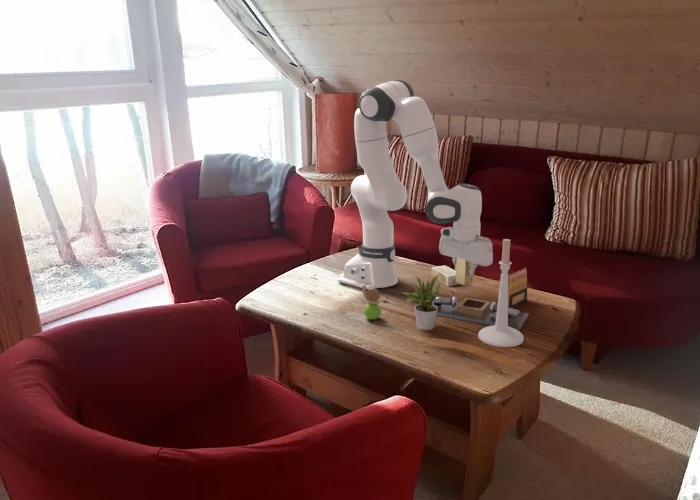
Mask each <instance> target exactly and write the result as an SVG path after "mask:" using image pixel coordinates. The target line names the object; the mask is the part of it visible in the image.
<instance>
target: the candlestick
mask: <svg viewBox="0 0 700 500" xmlns="http://www.w3.org/2000/svg"><path fill="white" fill-rule="evenodd" d="M510 250H511V239H509V238H503V239H502V253H501V260H500V261H499V262H498V264H499V265H500V268H499V269H500V270H501V274H500V281H499V287H498V289H499V290H498V298H497V299H498V300H497V305H498V306H497V315H496V322H495V325H487V326H485V327H483V328H481V329H480V330H479V332H478V335H477V337H478V339H479V341H481V342H483V343H484V344H486V345H488V346H493V347H498V348H513V347H517V346H519V345H521V344H523V343H524V341H525V340H524V339H525V338H524V335H523V334H522V332H520V330H516V329H514V328H512V327H508V279H509V270H510V269H511V265H512V263H513V262H512V261H510V253H511V252H510Z"/></svg>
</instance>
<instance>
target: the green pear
mask: <svg viewBox="0 0 700 500" xmlns="http://www.w3.org/2000/svg"><path fill="white" fill-rule="evenodd" d="M361 283H362V284H363V283H364V281H363V282H361ZM361 289H362V290H361V291H362V294H363V297H364V300H365V301H366V302H368V303H367V304H366V305H365V307H364V309H363V313H364V316H365V317H366V318H367V319H369V320H372V321H373V320H377V319H379V317H380V316H381V315H382V308H381V305H379V303H380V301H381V300H379V299H380V297H381V295H380V294H381V293H380V291H379V290H378V288H370V289H366V286H365V285H363V286H362V288H361Z"/></svg>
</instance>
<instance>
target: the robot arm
mask: <svg viewBox="0 0 700 500" xmlns="http://www.w3.org/2000/svg"><path fill="white" fill-rule="evenodd" d="M353 120H354V121H353V122H354V123H353V127H354V130H353V131H354V142H355V147H356V154H357V155H356V156H357V161H358V165H360V167H361V168H362V169H363V171H364V174H361V175H360V174H359V175H358V176H356V177H355V178H354V179H353V180H352V182H351V184H350V193H351V196H352V198H353V199H354V200H355V202H356V206H357V207H358V210H359V215H360V218H361V223H362V224H361V225H362V243H361V244H360V245H358V246H356V251H358V253H357V254H356V255H355V256H353V257H352V258H350V260H348V261H347V262H346V263H345V265H344V267H343V272H342V273H340V274H339V275H338V276H337V282H340V283H343V284H345V285H350V286H354V287H358V288H361V289H362V286H363V285H365V286H366V290H369V289H370V288H375V289H379V288H381V289H382V288H389V287H392V286H394V285H396V284H398V282H399V280H398V277H397V272H396V265H395V259H396V257H395V256H396V250H395V249H396V248H395V247H396V246H395V243H394V228H395V227H394V222H393V220H392V219H391V218H390V215H389V213H388V211H399V210H400V209H401V208H403V207H404V205H405V204H406V203H407V199H408V191H407V188H406V186H404V184H403V183H402V181H401V180H400V178H399V177H398V175H397V173H396V170H395V168H394V165H393V163H392V159H391V155H390V154H391V153H390V147H389V141H388V140H389V138H388V131H387V122H390V121H391V120H393V121H395V123H396V124H397V126H398V127H399V132H400V135H401V139H402V142H403V145H404V148H405V149H406V151H407V153H408V155H409V157H410V158H412V159H413V160H414V161H415V162H416V163H417V164H418V165H419V167H420V169H421V172H422V174H423V178H424V181H425V185H426V187H427V198H426V199H427V200H426V205H425V214H426V215H425V216H426V217H427V219H428V220H429V221H431V222H432V223H434V224H439V225H440V224H441V225H442V224H448V223H449V224H451V223H453V224H452V225H451V226H447V227H444V228H441V229H440V235H441V236H440V239H439V244H438V245H439V246H438V249H439V250H438V251H439V253H440V254H441V255H442V256H446V257H449V258H452V259H451V261H452V263H453V265H454V270H455V271H456V264H457V258H462V259H465V260H466V261H467V262H470V263H471V266H472V267H471V269H468V274H469V275H473V276H474V275H475V270H476V269H477V267H478V266H481V267H488V266H490V265H492V264H493V261H494V257H493V256H494V253H493V252H494V251H493V242H492V241H491V240H490V238H488V237H484V236H481V227H482V226H481V220H480V219H481V216H482V215H481V214H482V206H483V203H482V202H483V198H482V197H483V196H482V192H481V190H480V188H479V187H477V186H476V185H473V184H470V183H458V184H457V185H456V186H454V187H452V188H451V189H450V188H449V187H448V185H447V183H446V181H445V178H444V174H443V172H442V171H443V169H442V167H441V164H440V159H439V156H440V155H439V150H440V147H439V138H438V133H437V129H436V125H435V122H434V118H433V117H432V113H431V112H430V109H429V107H428V105H427V103H426V102H425V99H423V98H422V97H420V96H415V92H414V89H413V87H412V85H411V84H410V83H408V82H407V81H405V80H400V79H394V80H392V81H385V82H382V83H381V82H380V84H379V83H378V84H377V85H375V86H372V87H369V88H366V90H365V91H363V92H362V94H361V95H360V96H359V98H358V108H357V109H356V111H355V113H354V119H353ZM462 256H463V257H462ZM363 281H364V283H363V284H362V283H361V282H363Z"/></svg>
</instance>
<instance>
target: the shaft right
mask: <svg viewBox="0 0 700 500" xmlns="http://www.w3.org/2000/svg"><path fill="white" fill-rule="evenodd" d="M497 306H498V302H496V301H491V304H490V307H489V312H490V313H495V312H497ZM520 312H521V311H520V310H519V309H516V308H513V309H512V308H508V322H510V321H512V320H513V319H514V317H515V318H518V317H519V314H520Z"/></svg>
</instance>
